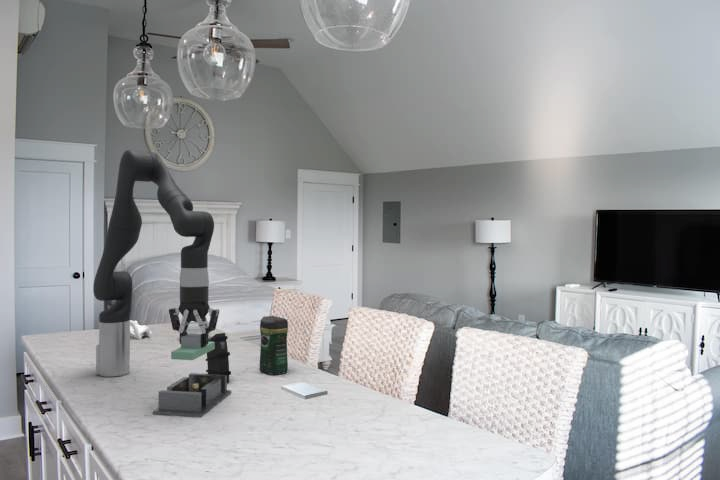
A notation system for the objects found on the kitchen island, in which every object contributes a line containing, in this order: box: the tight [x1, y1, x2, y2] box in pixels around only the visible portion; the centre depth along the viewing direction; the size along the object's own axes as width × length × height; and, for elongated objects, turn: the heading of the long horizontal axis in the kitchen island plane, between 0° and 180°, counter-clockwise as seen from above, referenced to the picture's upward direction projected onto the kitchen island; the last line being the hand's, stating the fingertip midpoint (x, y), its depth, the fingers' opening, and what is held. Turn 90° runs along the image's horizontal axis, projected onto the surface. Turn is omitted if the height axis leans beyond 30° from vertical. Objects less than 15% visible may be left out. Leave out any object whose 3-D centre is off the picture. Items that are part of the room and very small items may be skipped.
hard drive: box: [280, 381, 329, 400], centre depth 164 cm, size 2×8×12 cm
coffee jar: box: [259, 315, 289, 375], centre depth 186 cm, size 10×8×19 cm
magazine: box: [205, 332, 232, 384], centre depth 176 cm, size 4×13×15 cm, turn 36°
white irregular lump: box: [130, 319, 153, 340], centre depth 241 cm, size 12×6×11 cm, turn 49°
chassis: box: [152, 372, 232, 418], centre depth 152 cm, size 21×13×6 cm, turn 172°
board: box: [170, 334, 215, 361], centre depth 152 cm, size 14×6×5 cm, turn 172°
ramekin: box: [180, 321, 211, 340], centre depth 237 cm, size 13×13×7 cm
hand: (194, 346), depth 152 cm, fingers closed on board, 5 cm apart
